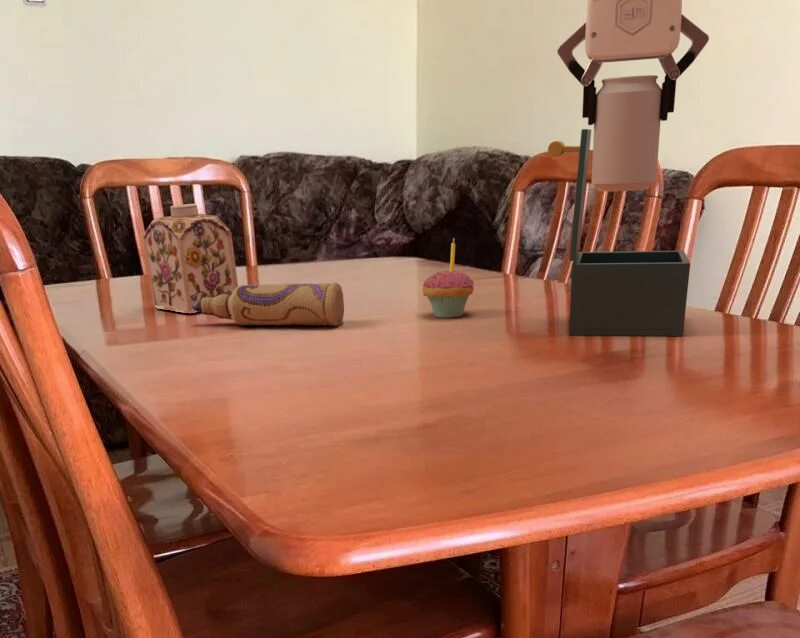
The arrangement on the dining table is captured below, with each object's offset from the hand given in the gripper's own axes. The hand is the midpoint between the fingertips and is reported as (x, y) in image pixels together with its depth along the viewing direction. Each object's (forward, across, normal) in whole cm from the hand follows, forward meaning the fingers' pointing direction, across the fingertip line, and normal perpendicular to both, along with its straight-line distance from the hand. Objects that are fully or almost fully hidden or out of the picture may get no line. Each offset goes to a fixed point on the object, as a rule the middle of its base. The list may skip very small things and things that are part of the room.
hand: (627, 121), depth 96 cm
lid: (+9, -5, +19) cm, 22 cm away
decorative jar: (+27, -76, +34) cm, 87 cm away
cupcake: (+27, -26, +27) cm, 47 cm away
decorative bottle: (+27, -55, +20) cm, 64 cm away
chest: (+27, +2, +19) cm, 33 cm away
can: (+8, 0, 0) cm, 8 cm away
